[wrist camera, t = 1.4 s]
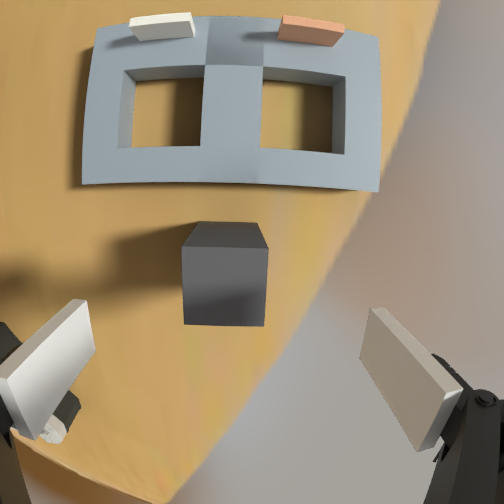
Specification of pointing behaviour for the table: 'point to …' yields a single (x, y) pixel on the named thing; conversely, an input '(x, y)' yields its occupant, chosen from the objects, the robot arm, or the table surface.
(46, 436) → the camera
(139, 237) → the table surface
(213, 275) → the plug
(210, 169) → the socket block
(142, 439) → the table surface
